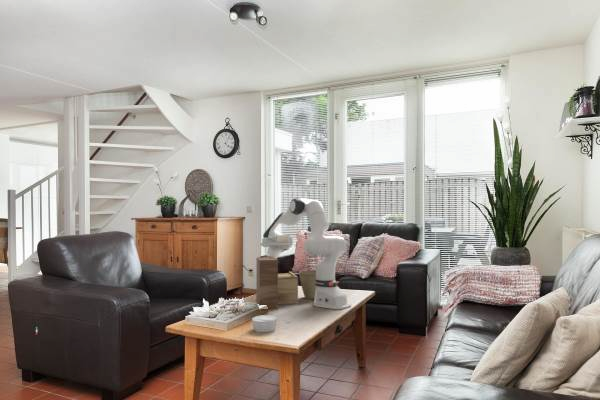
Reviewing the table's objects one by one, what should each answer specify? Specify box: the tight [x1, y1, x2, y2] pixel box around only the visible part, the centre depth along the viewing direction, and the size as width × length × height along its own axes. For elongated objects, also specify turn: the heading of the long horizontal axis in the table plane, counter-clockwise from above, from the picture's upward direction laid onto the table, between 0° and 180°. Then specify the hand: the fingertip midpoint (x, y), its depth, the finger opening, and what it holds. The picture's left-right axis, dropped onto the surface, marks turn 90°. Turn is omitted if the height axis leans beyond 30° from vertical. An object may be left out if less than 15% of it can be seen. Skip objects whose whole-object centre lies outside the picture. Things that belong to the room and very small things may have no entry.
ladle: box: [276, 233, 291, 243], centre depth 260 cm, size 25×6×4 cm, turn 13°
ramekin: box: [251, 314, 277, 333], centre depth 192 cm, size 11×11×5 cm
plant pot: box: [298, 269, 316, 300], centre depth 260 cm, size 15×15×16 cm
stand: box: [256, 255, 299, 311], centre depth 247 cm, size 33×24×28 cm
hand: (279, 236), depth 269 cm, fingers closed on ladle, 3 cm apart
